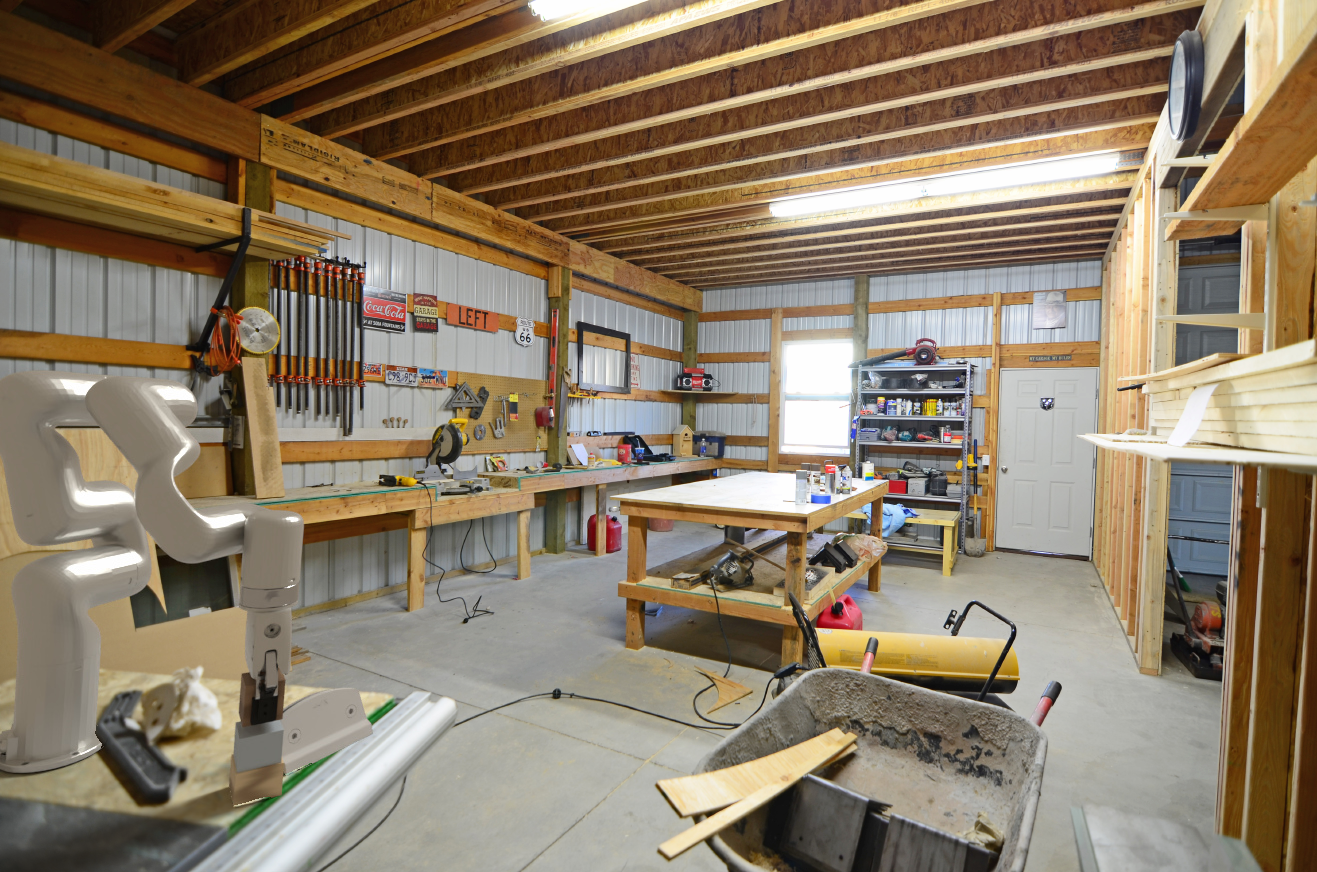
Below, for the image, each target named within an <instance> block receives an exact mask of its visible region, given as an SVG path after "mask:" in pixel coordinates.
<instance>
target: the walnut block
mask: <svg viewBox="0 0 1317 872" xmlns="http://www.w3.org/2000/svg"><path fill="white" fill-rule="evenodd" d="M240 675H241V678H240V691H239V703H238V715H239V720H240V721H241V724H242V727H247V726H252V725H251V723H250V719H251V706H252V697H255V679H253V678H252V677H251V675H250V672H249V671H248V672H242V673H241V674H240ZM260 675H265V671H263V672H260V673H259V676H260ZM264 682H265V680H261V681H260V687H261V685H262V684H264ZM285 690H286V678H285V674H282V673H281V671H280V669H279V667H278V705H277V718H276V720H281V719H283V709H284V708H285V705H284V704H285ZM276 720H275V721H276Z"/></svg>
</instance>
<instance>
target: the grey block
mask: <svg viewBox="0 0 1317 872" xmlns="http://www.w3.org/2000/svg"><path fill="white" fill-rule="evenodd" d="M234 728H235V729H234V739H233V740H234V741H233V752H232V753H233V756H234V761H235V766H236V771H237V773H240V772H244V771H248V770H253V769H257V768H261V767H265V766H269V765H273V764H277V763H281V760H282V746H283V733H284V729H283V726H282V723H281V721H280V720H276V721H273V722H268V723H263V724H258V725H252V726H247V727H242V724H241V720H240V721H236V722H235V727H234Z"/></svg>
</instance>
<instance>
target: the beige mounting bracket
mask: <svg viewBox="0 0 1317 872" xmlns="http://www.w3.org/2000/svg"><path fill="white" fill-rule="evenodd" d="M280 721H281V723H282V726H283V729H284V733H283V746H282V758H283V761H284V770H283V774H284V773H285V774H287V773H289V772H292V771H293V770H295V769H298V768H300V767H302V766H304V765H308V764H309V763H312V764H315V763H317V762H319V761H320V760H323V759H324V758H327V757H329V756H330V755H332V754H335V753H337V752H339V751H342V749H345V748H347V747H349V746H350V745H353V744H355V743H357V742H359V741H361V740H363V739H365V738H367V737H369V736H371V735H373V734H374V731H373V725H372V722H370V720H369V719H368V718H367V715H366V712H365V708H364V704H363V700H362V698H361V693H360V691H359V689H357V688H353V687H338V688H331V689H324V690H321V691H316V692H314V693H310V694H308V695H307V696H304V697H302V698H299V699H297V700H295V701H294V702H292V703H291V704H288V705H287V706H284V707H283V719H281V720H280ZM308 766H309V765H308Z"/></svg>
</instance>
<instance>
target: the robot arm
mask: <svg viewBox="0 0 1317 872" xmlns="http://www.w3.org/2000/svg"><path fill="white" fill-rule="evenodd" d="M198 412H199V409H198V402H197V398H196V397H195V394H194V393H193V392H192V391H191V389H189V387H187V386H186V385H185V384H183V383H181V382H180V381H177V380H174V379H168V378H155V377H143V376H141V377H140V376H128V375H127V376H126V375H113V374H110V375H109V374H98V373H84V372H76V371H75V372H74V371H73V372H72V371H63V370H50V369H49V370H48V369H47V370H44V369H43V370H24V371H17V372H13V373H10V374H7V375H5V376H3V377H1V378H0V458H1V460H2V465H3V469H4V476H5V482H6V487H7V493H8V499H9V506H10V511H11V515H12V520H13V525H14V528H15V531H16V533H17V535H18V537H19V538H20V540H21V542H24V543H25V544H27V545H30V546H34V547H48V546H49V547H50V546H56V545H64V544H70V543H76V542H82V541H87V540H91V543H92V547H88V548H80V549H76V550H70V551H65V552H60V553H54V554H50V555H45V556H44V557H39V558H37V559H35V560H33V561H31V562H29V563H27V564H26V565H24V566H23V567H22V568H20V569H19V570H18V571H17V573H16V574H15V575H14V577H13V579H12V583H11V586H10V588H11V591H10V592H11V598H12V599H11V600H12V603H13V608H14V612H15V613H14V614H15V617H16V625H17V651H16V676H15V691H14V706H13V707H14V708H13V722H12V724H11V726H10V728H9V729H6V730H2V731H1V733H0V770H1V771H3V772H6V773H15V774H17V773H18V774H25V773H38V772H44V771H49V770H53V769H58V768H61V767H65V766H68V765H72V764H74V763H77V762H79V761H81V760H84V759H86V758H87V757H90V756H92V755H93V754H95V753H97V752H98V751H99V750H101V749H102V748H101V746H102V743H101V742H100V741H99V739H98V738H97V736H96V734H95V731H96V725H97V713H98V712H97V711H98V700H99V697H98V696H99V682H100V669H101V668H100V667H101V655H102V654H101V650H102V647H101V646H102V634H101V630H100V629H99V627H98V625H97V624H96V623H95V622H94V620H93V619H92V618H91V617H90V615H89V610H90V609H93V608H95V607H98V606H101V605H105V604H108V603H109V604H110V603H112V602H116V601H119V600H122V599H126V598H129V597H132V596H134V595H136V594H138V593H139V592H141V591H142V590H144V588H146V586H147V585H148V584H149V581H150V579H151V576H152V569H153V568H152V567H153V566H152V557H151V551H150V546H149V540H148V536H147V534H148V535H149V536H150V537H151V538H152V539H153V541H154V542H155V543H156V544H157V546H158V547H159V548H160V549H161V550H162V551H163V552H164V553H166V554H167V555H168V556H169V557H170V558H172V559H174V560H176V561H177V562H180V563H185V564H200V563H203V562H207V561H211V560H216V559H219V558H224V557H228V556H233V555H238V554H242V556H241V557H242V558H241V570H240V583H239V585H240V586H239V594H238V609H240V610H242V611H246V621H245V622H246V623H245V636H244V637H245V638H244V639H245V641H244V654H245V655H244V657H245V662H246V665H247V669H248V672H250V675H251V677H252V678H253V679H255V697H252V706H251V719H250V723H251V725H258V724H263V723H268V722H273V721H275V720H276V718H277V705H278V668H279V669H280V671H281V673H282V674H283V675H284V676H285V675H288V674H289V673H290V672H291V665H292V664H291V663H292V662H291V661H292V639H293V638H292V633H293V632H292V631H293V629H292V628H293V625H292V624H293V619H292V618H293V617H292V608H294V607H295V606H296V605H298V603H299V596H300V595H299V594H300V593H299V592H300V581H301V579H300V578H301V569H302V568H301V567H302V556H303V555H302V554H303V553H302V552H303V540H304V531H305V530H304V529H305V522H304V521H305V520H304V518H303V516H302V515H301V514H300V513H298V512H295V511H292V510H285V509H284V510H281V509H274V510H273V509H269V508H266V507H264V506H261V505H258V504H255V503H249V502H237V503H231V504H224V505H217V506H209V507H203V508H196V509H195V507H194V506H193V505H191V503H190V502H189V501H188V500H187V498H186V497H185V496H184V495H183V494H182V493H181V491H180V489H179V488H178V486H177V484H176V482H175V477H177V476H179V475H180V474H182V473H184V472H185V471H186V470H188V469H189V468H190V467H191V466H193V464H194V463H195V462H196V461H197V460H198V459H199V457H200V454H201V451H202V450H201V445H200V443H199V442H198V441H197V439H196V438H195V437H194V436H193V435H192V434H191V432H190V431H189V430H188V429H187V427H188V426H190V425H191V424H192V423H193V422H194V421H195V419H196V417H197V415H198ZM58 426H73V427H74V426H81V427H82V426H85V427H87V426H89V427H90V426H98V427H99V428H100V429H101V430H102V432H104V434H105V435H106V437H107V438H108V439H109V440H110V441H111V442H112V444H113V445H114V446H115V447H116V448H117V450H118V451H119V452H120V453H121V454H122V455H123V457H124V458H125V459H126V461H127V462H128V463H129V464H130V466H132V467H133V469H134V470H135V471H136V473H137V474H138V475H137V476H138V477H137V478H136V479H137V480H136V483H135V487H134V491H133V490H132V489H131V488H130V487H129V486H127V484H124V483H122V482H119V481H116V480H108V479H107V480H106V479H105V480H94V481H92V480H91V481H85V478H84V475H83V473H82V469H81V461H80V458H79V454H78V453H77V450H76V449H75V447H74V446H73V445H72V444H71V443H70V442H69V440H68V439H67V438H66V437H64V435H62V434H61V433H59V432H58V431H57V430H56V427H58ZM263 671H265V675H260V676H259V673H260V672H263ZM261 680H265V682H264V684H262V685H261V687H260V681H261Z"/></svg>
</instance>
